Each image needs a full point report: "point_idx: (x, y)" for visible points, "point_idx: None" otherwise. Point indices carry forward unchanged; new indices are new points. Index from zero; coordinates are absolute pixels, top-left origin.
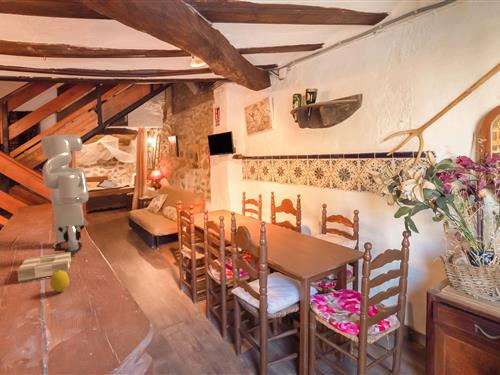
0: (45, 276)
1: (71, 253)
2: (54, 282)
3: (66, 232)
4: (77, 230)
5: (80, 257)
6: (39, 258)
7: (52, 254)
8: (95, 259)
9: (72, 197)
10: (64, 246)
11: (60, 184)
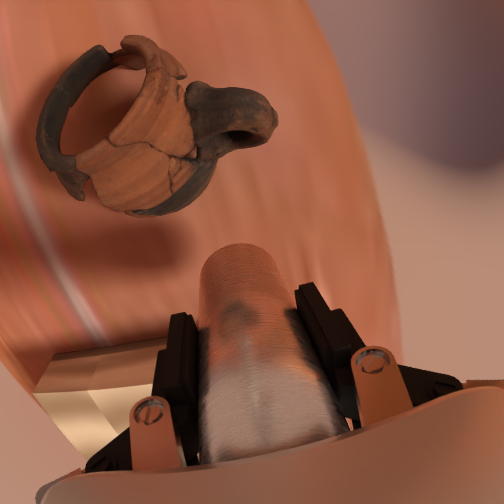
0: None
1: (196, 191)
2: None
3: (197, 425)
4: (346, 415)
5: (269, 227)
6: (108, 425)
7: (141, 387)
8: (367, 296)
9: None
10: (132, 201)
11: None
